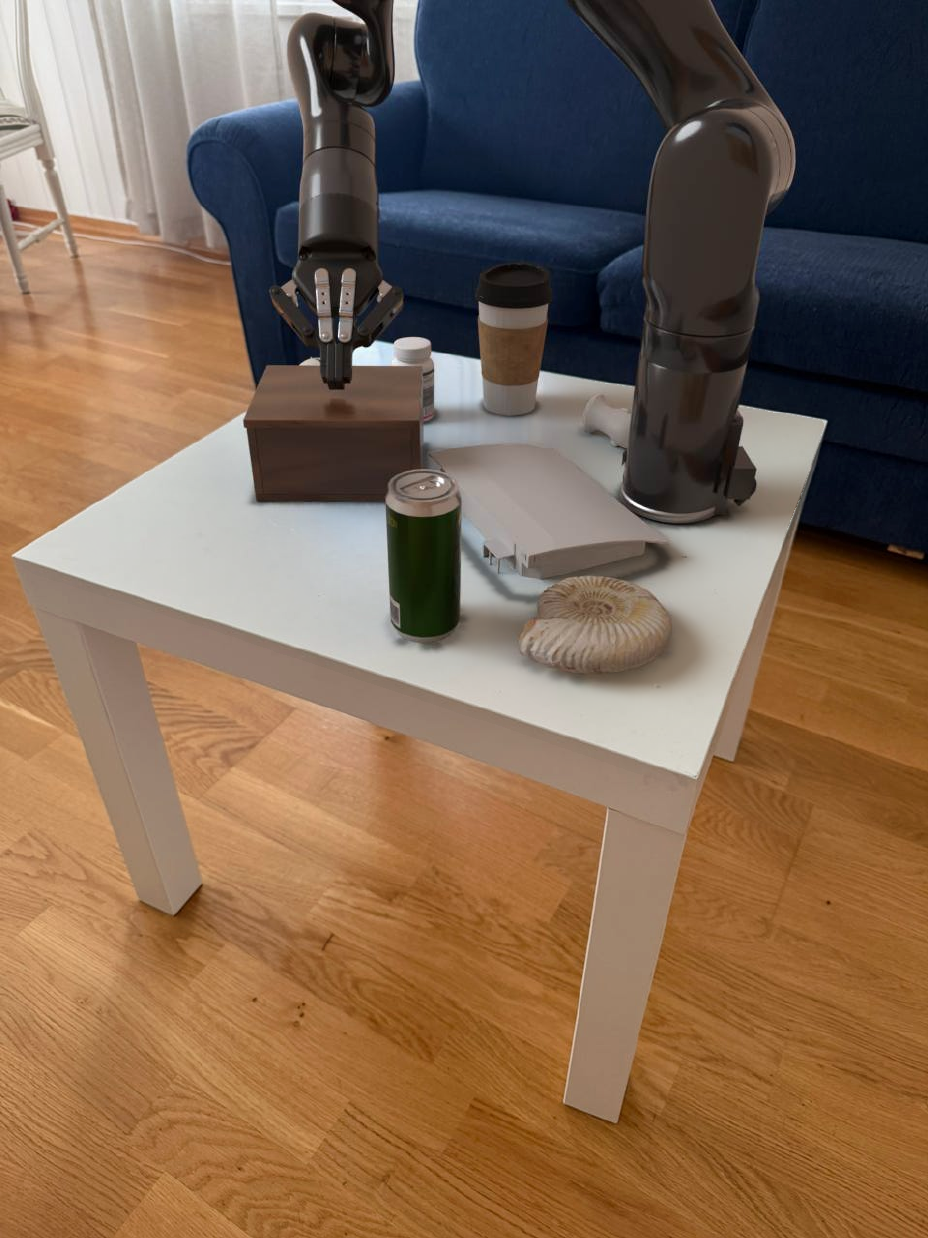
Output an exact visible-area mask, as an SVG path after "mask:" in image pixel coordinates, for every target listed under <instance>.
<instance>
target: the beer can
mask: <svg viewBox="0 0 928 1238" xmlns="http://www.w3.org/2000/svg"><path fill="white" fill-rule="evenodd" d="M384 503H385V524H386V525H385V526H386V545H387V546H386V547H387V549H386V550H387V565H388V566H387V568H388V569H387V570H388V571H387V572H388V592H389V594H388V595H389V614H390V615H389V616H390V617H389V618H390V623H391V625H392V626H393V628H394V630H395V631H396V633H397V634H398V635H399V636H400V637H402V638H403V639H404V640H407V641H409V642H412V643H418V644H430V643H432V644H433V643H436V642H441V641H443V640H445V639H447V638H449V637H450V636H451V635H452V634H453V633H454V632H455V631H456V629H457V627H458V626H459V623H460V620H461V597H462V596H461V593H462V591H461V590H462V589H461V588H462V585H461V584H462V515H463V514H462V498H461V494H460V492H459V486H458V482H457V480H456V479H455V478H454V477H453V476H451V475H449V474H447V473H445V472H441V470H437V469H428V468H423V469H418V470H411V471H405V472H403V473H400V474H398V475H396V476H394V477H393V478H392V479H391V480H390V481H389V483H388V492H387V494H386V496H385V502H384Z"/></svg>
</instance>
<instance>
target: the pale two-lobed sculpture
mask: <svg viewBox="0 0 928 1238" xmlns="http://www.w3.org/2000/svg"><path fill="white" fill-rule="evenodd" d="M606 397H607V396H606V395H605V394H604V393H599V394H595V395H593V396H591V397H590V398H589V400H588V401H587V403H586V405H585V407H584V409H583V413H582V425H583V428H584V431H585V432H587V433H591V432H593V431H594V430H595V431H596V430H598V431H599V432H600V431H601V432H602V433H604V434H605V435H607V436H608V437H609V438H610V440H609V442H610V445H611V446H612V447H614V448H616V447H621V448H625V449H627V444H628V437H629V429H630V421H631V413H632V410H630V409H628V408H626V407H622V408H614V407H611V406H610V405H609V404H608V402H607V398H606Z"/></svg>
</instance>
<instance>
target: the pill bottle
mask: <svg viewBox="0 0 928 1238" xmlns="http://www.w3.org/2000/svg"><path fill="white" fill-rule="evenodd" d="M393 356H394V357H393V359H392V360H391V362H390V366H422V367H423V423H425V422H428V421H430V420H431V419H433V417H434V416H435V363H434V359H433V358H431V356H432V342H431V340H429V339H427V338H424V337H418V336H408V337H401V338H398V339H396V340H395V341H394V343H393Z"/></svg>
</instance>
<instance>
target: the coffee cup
mask: <svg viewBox="0 0 928 1238" xmlns="http://www.w3.org/2000/svg"><path fill="white" fill-rule="evenodd" d="M474 298H475V300H477V301H478V313H479V314H478V316H477V327H478V340H479V341H478V343H479V354H480V355H479V356H480V367H481V378H482V397H483V407H484V408H485V410H487V411H488V412H490V413H492V414H496V415H499V416H511V417H512V416H521V415H526V414H528V413H530V412H532V411H533V410H534V409H535V407H536V406H535V405H536V400H537V392H538V391H537V390H538V385H539V378H540V372H541V367H542V361H543V355H544V348H545V342H546V337H547V329H548V324H549V323H548V322H549V318H548V309H549V304H550V303H552V301H553V299H554V297H553V289H552V288H551V273H550V270H549V269H548V268H546V267H545V266H542V265H539V264H536V263H530V262H505V263H500V264H497V265H494V266H491V267H489V268H486V269H485V270H483V271H482V272H481V273H480V275H479V279H478V284H477V286H476V288H475V295H474Z"/></svg>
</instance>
